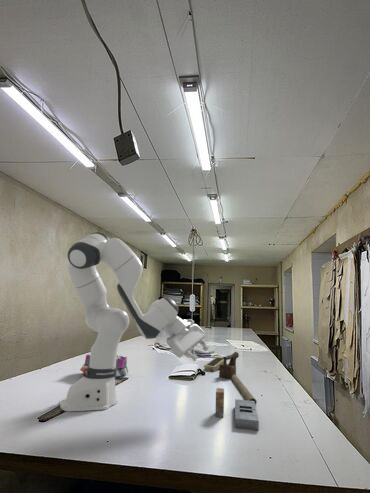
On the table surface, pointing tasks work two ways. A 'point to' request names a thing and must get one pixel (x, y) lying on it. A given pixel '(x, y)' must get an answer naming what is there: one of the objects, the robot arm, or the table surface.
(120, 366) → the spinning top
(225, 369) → the wooden tool caddy
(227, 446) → the table surface
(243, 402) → the grey slotted block
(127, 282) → the robot arm
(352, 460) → the table surface
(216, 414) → the clip
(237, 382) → the roll
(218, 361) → the box
